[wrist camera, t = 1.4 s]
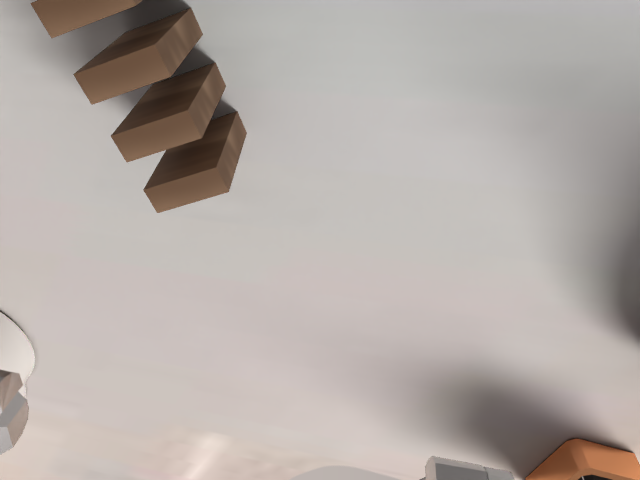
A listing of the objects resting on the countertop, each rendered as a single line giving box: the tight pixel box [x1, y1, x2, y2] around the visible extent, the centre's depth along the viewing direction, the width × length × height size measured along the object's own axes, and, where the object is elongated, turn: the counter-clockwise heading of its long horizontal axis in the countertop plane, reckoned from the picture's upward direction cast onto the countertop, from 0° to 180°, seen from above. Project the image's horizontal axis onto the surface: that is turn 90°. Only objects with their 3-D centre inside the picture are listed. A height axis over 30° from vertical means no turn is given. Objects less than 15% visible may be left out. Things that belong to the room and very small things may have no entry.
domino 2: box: [74, 8, 203, 104], centre depth 32 cm, size 2×5×9 cm, turn 109°
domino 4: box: [144, 112, 247, 213], centre depth 37 cm, size 2×5×9 cm, turn 108°
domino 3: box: [111, 63, 226, 162], centre depth 34 cm, size 2×5×9 cm, turn 108°
